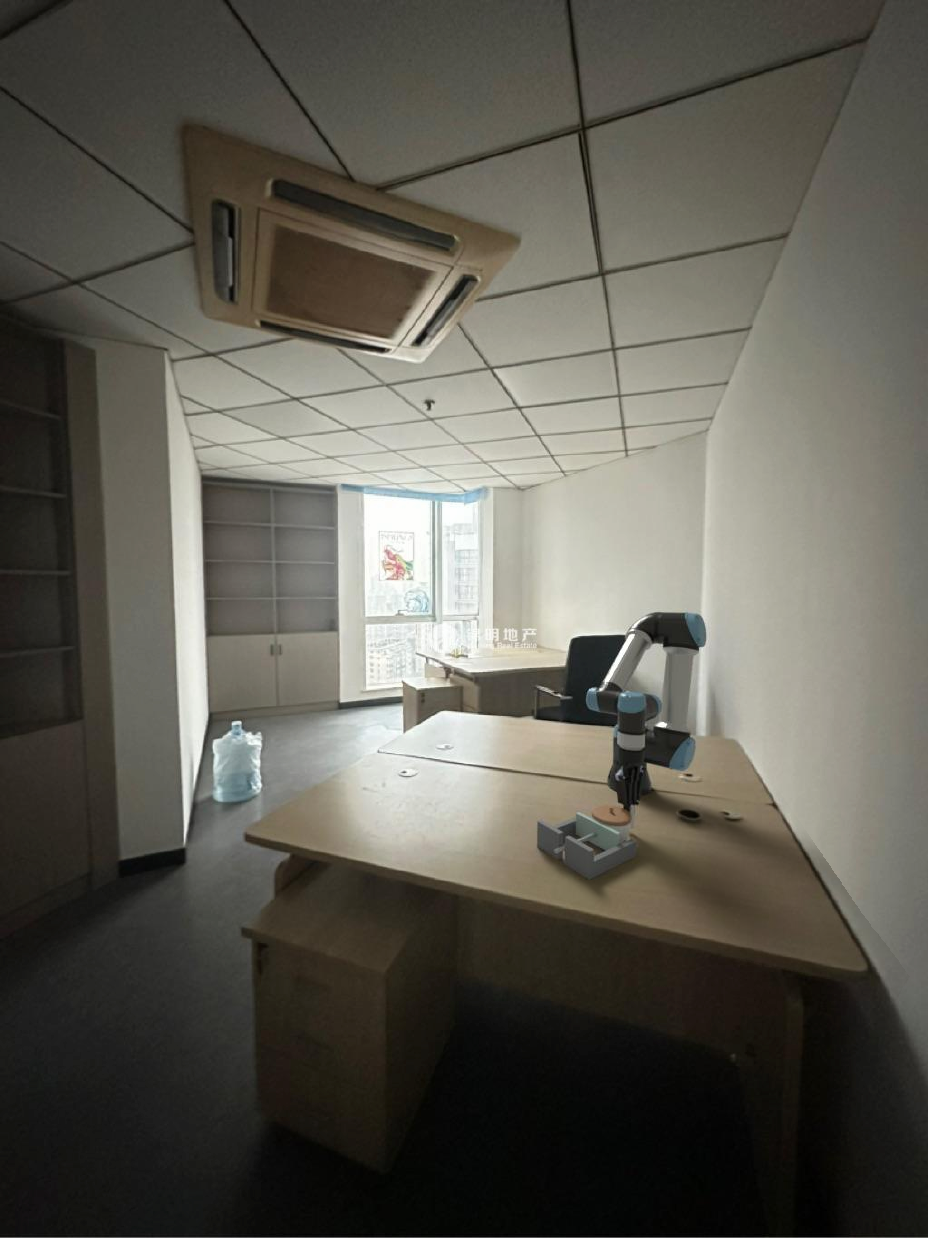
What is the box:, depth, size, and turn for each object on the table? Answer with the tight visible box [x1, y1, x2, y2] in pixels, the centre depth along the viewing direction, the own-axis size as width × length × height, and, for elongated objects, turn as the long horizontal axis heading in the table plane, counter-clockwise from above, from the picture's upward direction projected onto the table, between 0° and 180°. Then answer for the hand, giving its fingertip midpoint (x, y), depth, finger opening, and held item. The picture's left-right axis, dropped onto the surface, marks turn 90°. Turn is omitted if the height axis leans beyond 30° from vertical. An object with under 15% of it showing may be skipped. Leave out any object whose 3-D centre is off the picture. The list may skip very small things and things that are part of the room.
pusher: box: [554, 811, 620, 854], centre depth 120 cm, size 17×14×6 cm
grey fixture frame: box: [536, 816, 637, 881], centre depth 122 cm, size 18×18×7 cm
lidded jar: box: [591, 804, 632, 844], centre depth 128 cm, size 11×11×9 cm
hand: (628, 826), depth 133 cm, fingers closed
